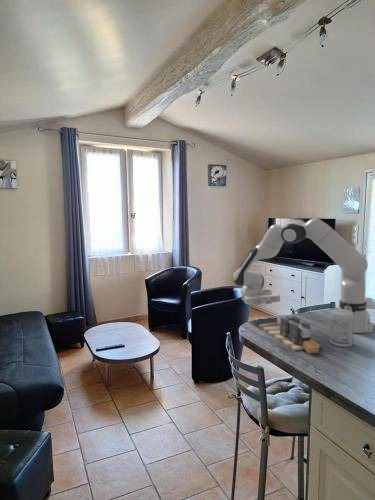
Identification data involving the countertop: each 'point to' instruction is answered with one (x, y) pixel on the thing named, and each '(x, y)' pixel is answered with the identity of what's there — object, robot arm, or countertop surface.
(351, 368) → the countertop surface
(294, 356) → the countertop surface
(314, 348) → the orange block
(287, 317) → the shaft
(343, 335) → the supplement tub
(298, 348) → the wooden board
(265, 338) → the countertop surface
